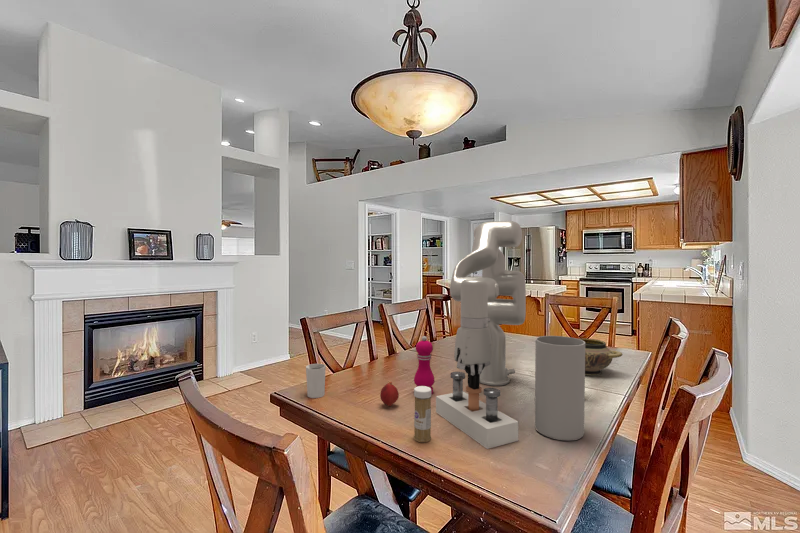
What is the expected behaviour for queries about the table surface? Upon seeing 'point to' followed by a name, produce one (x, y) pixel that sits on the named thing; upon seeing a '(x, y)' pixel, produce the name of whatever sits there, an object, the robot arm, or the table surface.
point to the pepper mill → (424, 364)
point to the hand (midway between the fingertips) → (473, 387)
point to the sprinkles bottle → (422, 414)
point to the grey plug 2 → (491, 404)
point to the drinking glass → (315, 380)
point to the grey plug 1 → (457, 385)
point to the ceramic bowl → (597, 356)
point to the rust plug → (473, 398)
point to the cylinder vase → (560, 387)
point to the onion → (389, 394)
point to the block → (477, 421)
